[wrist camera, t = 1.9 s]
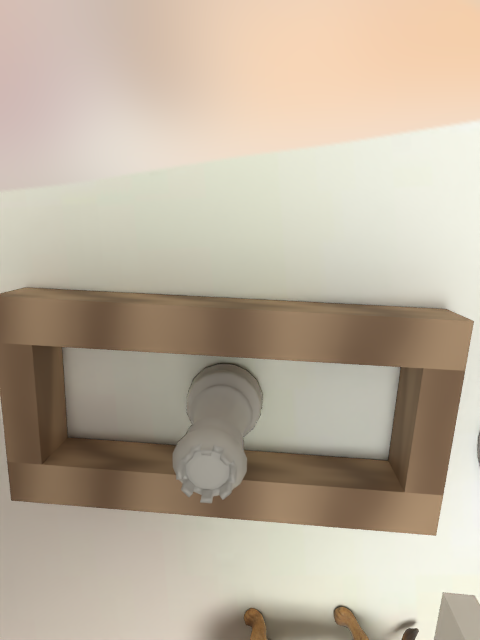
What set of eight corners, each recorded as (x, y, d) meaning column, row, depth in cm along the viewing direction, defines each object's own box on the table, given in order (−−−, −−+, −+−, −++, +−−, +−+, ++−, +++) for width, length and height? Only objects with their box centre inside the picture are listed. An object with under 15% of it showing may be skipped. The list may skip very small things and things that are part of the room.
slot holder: (39, 469, 26) (11, 500, 23) (25, 287, 23) (-10, 295, 20) (416, 499, 25) (436, 535, 22) (446, 309, 22) (473, 321, 19)
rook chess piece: (197, 353, 24) (162, 414, 16) (271, 370, 23) (272, 440, 16) (183, 420, 25) (143, 509, 17) (253, 437, 24) (247, 534, 17)
